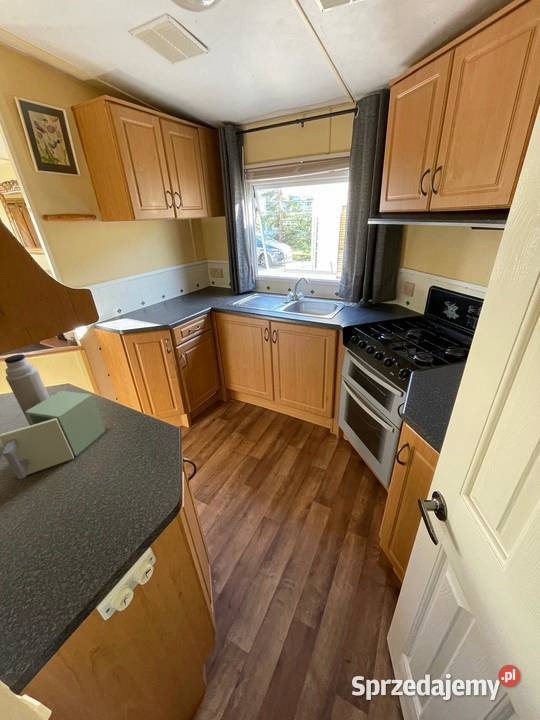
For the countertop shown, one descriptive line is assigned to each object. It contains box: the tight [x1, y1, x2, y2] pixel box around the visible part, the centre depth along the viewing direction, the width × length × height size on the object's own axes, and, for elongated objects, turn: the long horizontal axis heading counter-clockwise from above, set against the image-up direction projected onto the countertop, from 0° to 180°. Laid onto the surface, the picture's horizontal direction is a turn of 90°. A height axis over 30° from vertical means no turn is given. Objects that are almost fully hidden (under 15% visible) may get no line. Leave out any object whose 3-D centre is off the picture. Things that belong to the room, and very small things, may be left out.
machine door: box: [0, 418, 75, 480], centre depth 80 cm, size 7×13×14 cm, turn 120°
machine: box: [25, 390, 106, 457], centre depth 92 cm, size 12×13×15 cm
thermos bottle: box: [4, 353, 50, 426], centre depth 96 cm, size 8×8×28 cm
